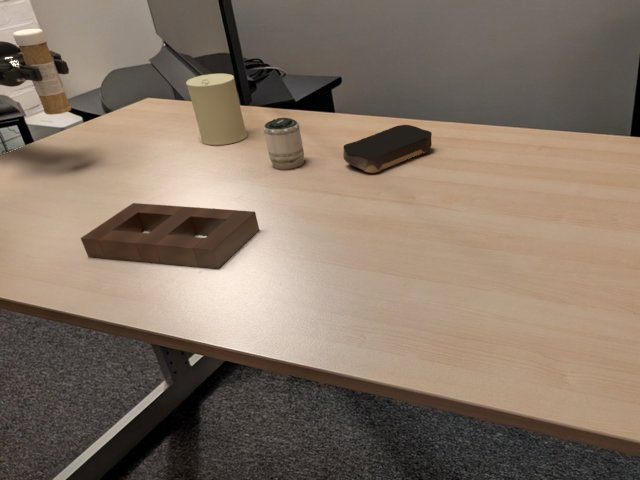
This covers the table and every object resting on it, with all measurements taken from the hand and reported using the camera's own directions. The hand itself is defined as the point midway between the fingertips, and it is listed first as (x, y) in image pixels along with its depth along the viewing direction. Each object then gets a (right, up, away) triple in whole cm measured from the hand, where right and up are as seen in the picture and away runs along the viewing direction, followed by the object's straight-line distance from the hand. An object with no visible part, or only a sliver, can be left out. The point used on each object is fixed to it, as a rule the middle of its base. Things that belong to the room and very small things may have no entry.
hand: (52, 71), depth 112 cm
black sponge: (+57, -13, +8) cm, 59 cm away
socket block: (+28, -32, -16) cm, 45 cm away
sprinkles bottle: (-2, -5, +6) cm, 8 cm away
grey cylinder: (+39, -14, +8) cm, 42 cm away
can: (+22, -5, +22) cm, 32 cm away
